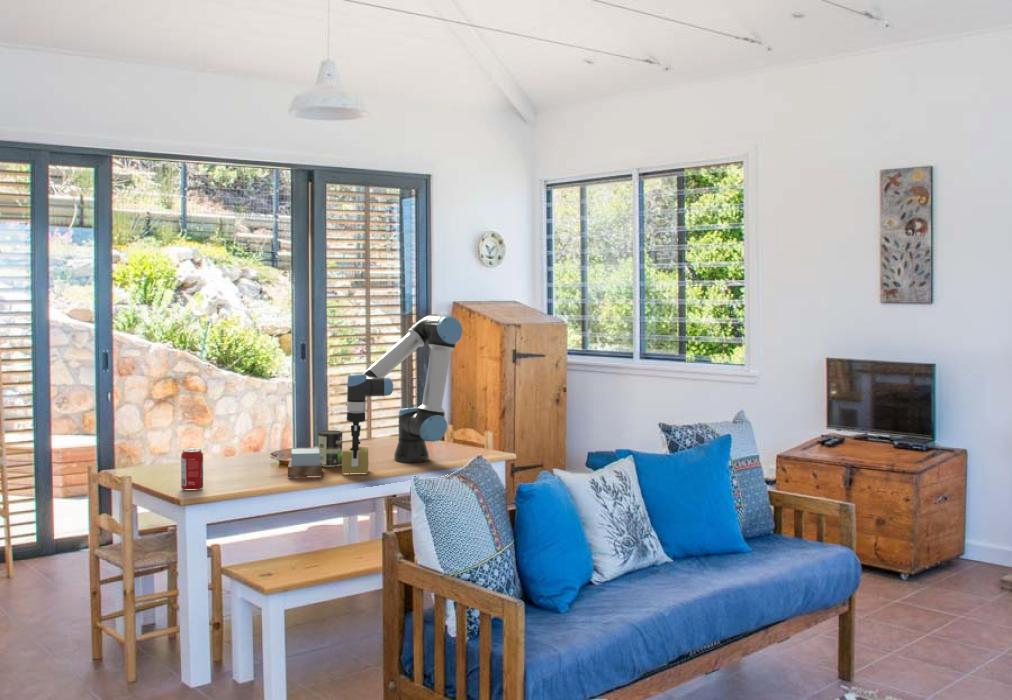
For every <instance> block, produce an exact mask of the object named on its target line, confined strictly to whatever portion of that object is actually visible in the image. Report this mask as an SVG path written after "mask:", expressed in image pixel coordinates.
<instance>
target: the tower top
mask: <svg viewBox="0 0 1012 700" xmlns="http://www.w3.org/2000/svg"><path fill="white" fill-rule="evenodd" d="M290 461H291V466H320V452H319V448H318V447H317V448H291V460H290Z"/></svg>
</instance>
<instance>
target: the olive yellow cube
mask: <svg viewBox="0 0 1012 700" xmlns="http://www.w3.org/2000/svg"><path fill="white" fill-rule="evenodd" d="M358 448H359V451H358V466H351V460H352V450H350V448H344V449H342V465H341V473H349V474H350V473H367V474H368V470H369V463H370V462H369V459H370V458H369V447H361V446H359V447H358Z"/></svg>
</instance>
